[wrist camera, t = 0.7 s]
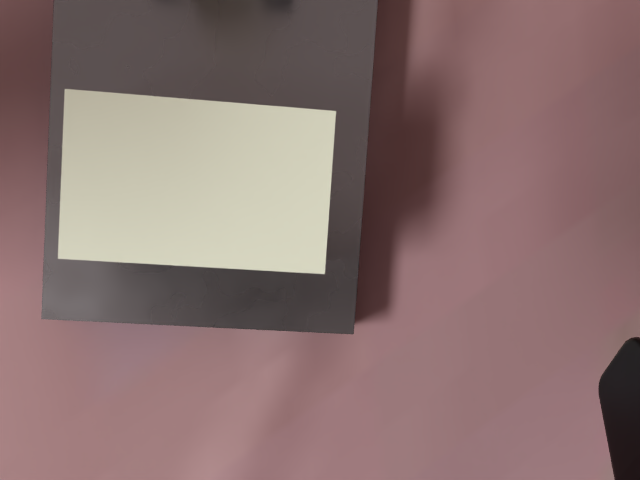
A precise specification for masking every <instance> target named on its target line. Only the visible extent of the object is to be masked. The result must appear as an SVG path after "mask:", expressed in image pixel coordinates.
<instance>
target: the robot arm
mask: <svg viewBox="0 0 640 480" xmlns="http://www.w3.org/2000/svg"><path fill="white" fill-rule="evenodd" d="M599 398H600V404H601V409H602V414H603V420H604V425H605V430H606V436H607V441H608V446H609V452H610V457H611V462H612V468H613V473H614V478H615V480H640V337H634V338H631V339H629V340H627V341H626V342H625V343H624V344H623V346H622V347H621V349H620V350H619V351H618V353H617V354H616V356H615V357H614V359H613V360H612V361H611V363H610V364H609V366H608V367H607V369H606V370H605V371H604V373H603V374H602V376H601V379H600V382H599Z"/></svg>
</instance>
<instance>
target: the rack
mask: <svg viewBox="0 0 640 480" xmlns="http://www.w3.org/2000/svg"><path fill="white" fill-rule="evenodd" d="M377 6H378V0H54V10H53V36H52V61H51V87H50V113H49V138H48V164H47V190H46V215H45V241H44V267H43V292H42V318H41V319H53V320H73V321H93V322H114V323H134V324H155V325H175V326H195V327H216V328H236V329H256V330H277V331H297V332H317V333H338V334H354V323H355V309H356V295H357V281H358V268H359V254H360V240H361V226H362V212H363V199H364V185H365V171H366V157H367V143H368V130H369V116H370V102H371V88H372V74H373V61H374V47H375V33H376V19H377ZM65 89H73V90H85V91H98V92H110V93H122V94H134V95H147V96H159V97H171V98H183V99H195V100H208V101H220V102H232V103H244V104H256V105H269V106H281V107H293V108H305V109H317V110H330V111H336V119H335V134H334V148H333V163H332V177H331V192H330V206H329V221H328V235H327V250H326V264H325V274H314V273H297V272H279V271H262V270H245V269H227V268H210V267H193V266H175V265H158V264H141V263H123V262H106V261H89V260H71V259H58V243H59V218H60V193H61V168H62V144H63V119H64V94H65Z"/></svg>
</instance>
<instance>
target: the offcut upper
mask: <svg viewBox="0 0 640 480" xmlns="http://www.w3.org/2000/svg"><path fill="white" fill-rule="evenodd" d="M335 119H336V111H330V110H317V109H305V108H293V107H281V106H269V105H256V104H244V103H232V102H220V101H208V100H195V99H183V98H171V97H159V96H147V95H134V94H122V93H110V92H98V91H85V90H73V89H65V94H64V119H63V144H62V168H61V193H60V218H59V243H58V259H71V260H89V261H106V262H123V263H141V264H158V265H175V266H193V267H210V268H227V269H245V270H262V271H279V272H297V273H314V274H325V264H326V250H327V235H328V221H329V206H330V192H331V177H332V163H333V148H334V134H335Z"/></svg>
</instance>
